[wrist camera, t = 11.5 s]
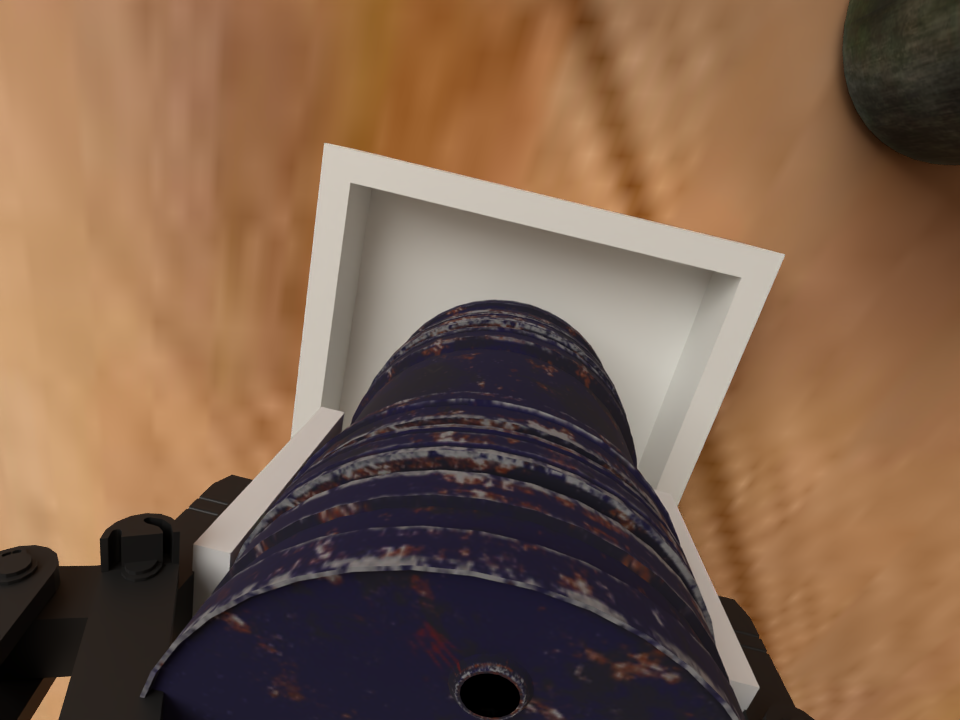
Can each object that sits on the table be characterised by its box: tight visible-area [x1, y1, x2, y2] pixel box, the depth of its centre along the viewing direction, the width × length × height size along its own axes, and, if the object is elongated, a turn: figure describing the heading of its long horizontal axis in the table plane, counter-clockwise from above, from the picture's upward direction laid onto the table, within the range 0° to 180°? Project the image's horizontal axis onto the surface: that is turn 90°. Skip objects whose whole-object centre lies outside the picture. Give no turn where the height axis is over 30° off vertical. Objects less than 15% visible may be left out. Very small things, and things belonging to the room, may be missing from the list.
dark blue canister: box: [140, 300, 745, 720], centre depth 15 cm, size 10×10×15 cm
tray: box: [291, 143, 785, 506], centre depth 24 cm, size 18×18×4 cm
